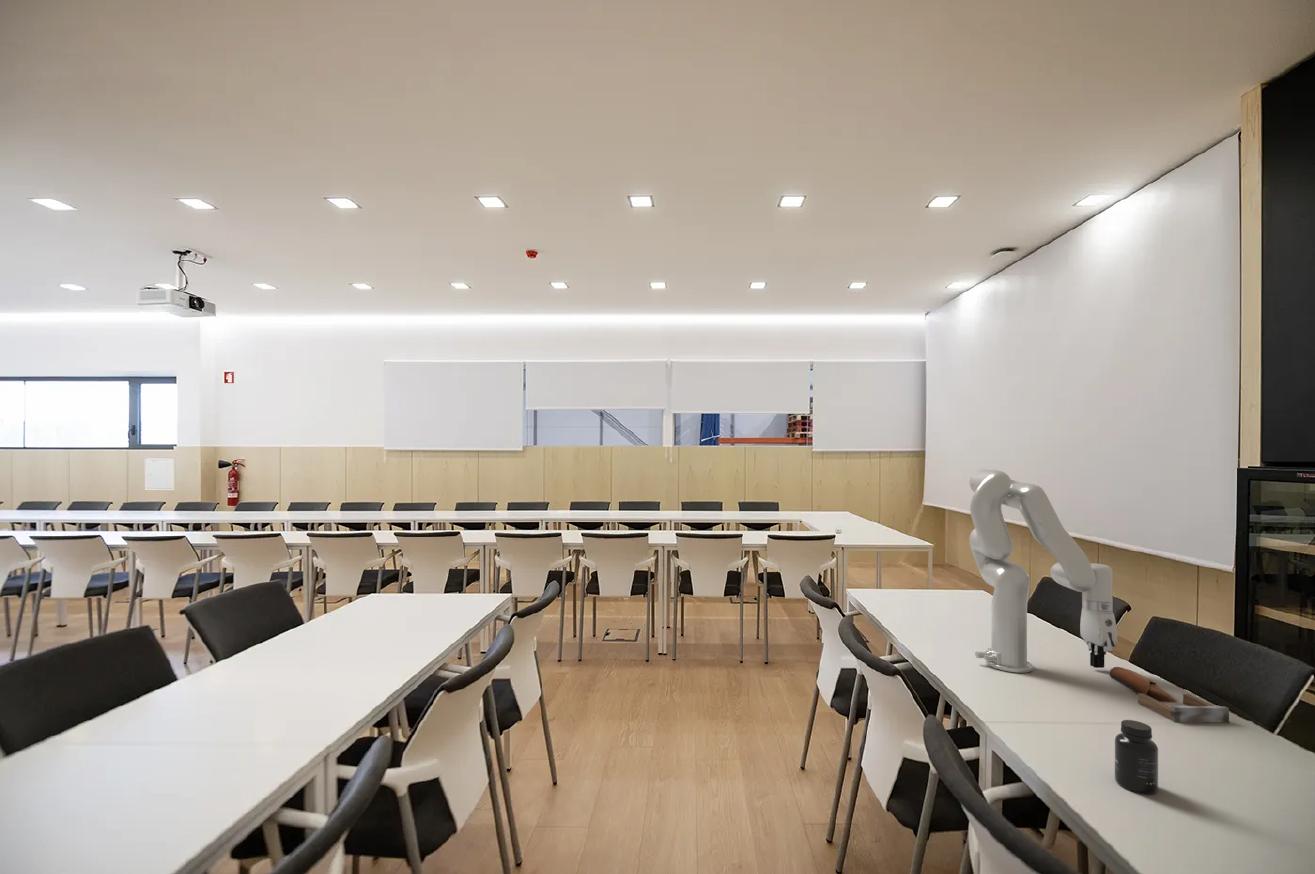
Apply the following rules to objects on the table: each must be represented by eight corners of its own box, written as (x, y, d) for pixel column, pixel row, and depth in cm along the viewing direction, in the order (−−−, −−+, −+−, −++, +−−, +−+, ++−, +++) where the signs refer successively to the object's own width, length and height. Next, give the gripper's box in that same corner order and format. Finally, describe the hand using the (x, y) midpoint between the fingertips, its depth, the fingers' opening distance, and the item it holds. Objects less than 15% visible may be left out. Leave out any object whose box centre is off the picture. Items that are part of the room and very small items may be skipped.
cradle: (1174, 722, 154) (1174, 707, 154) (1137, 702, 166) (1137, 689, 166) (1229, 722, 154) (1228, 708, 154) (1188, 703, 166) (1188, 689, 166)
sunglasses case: (1182, 702, 166) (1168, 680, 166) (1157, 715, 167) (1142, 692, 167) (1140, 678, 184) (1127, 657, 184) (1117, 689, 184) (1104, 668, 185)
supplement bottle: (1105, 777, 127) (1105, 717, 127) (1137, 776, 128) (1137, 716, 128) (1134, 796, 120) (1134, 732, 120) (1167, 795, 121) (1167, 731, 121)
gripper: (1128, 611, 183) (1128, 675, 183) (1092, 599, 198) (1092, 658, 198) (1102, 611, 183) (1102, 675, 183) (1068, 599, 198) (1068, 658, 198)
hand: (1097, 666), depth 190 cm, fingers closed
